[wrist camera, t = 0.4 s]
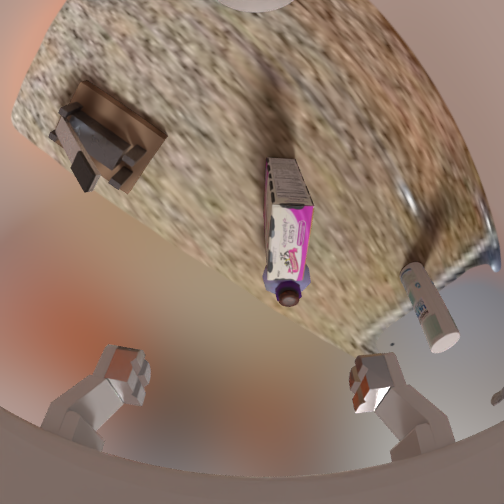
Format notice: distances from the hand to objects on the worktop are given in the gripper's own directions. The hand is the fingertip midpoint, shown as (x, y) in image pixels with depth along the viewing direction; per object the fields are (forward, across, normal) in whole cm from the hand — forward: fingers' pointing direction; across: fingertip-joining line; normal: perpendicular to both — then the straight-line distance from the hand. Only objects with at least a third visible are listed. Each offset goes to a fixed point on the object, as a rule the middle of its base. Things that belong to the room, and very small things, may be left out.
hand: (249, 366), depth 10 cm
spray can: (+41, -35, +25) cm, 59 cm away
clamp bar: (+28, +25, -4) cm, 38 cm away
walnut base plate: (+37, +25, -4) cm, 45 cm away
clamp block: (+35, +25, -4) cm, 43 cm away
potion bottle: (+40, -5, +20) cm, 46 cm away
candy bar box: (+39, -4, +6) cm, 40 cm away
